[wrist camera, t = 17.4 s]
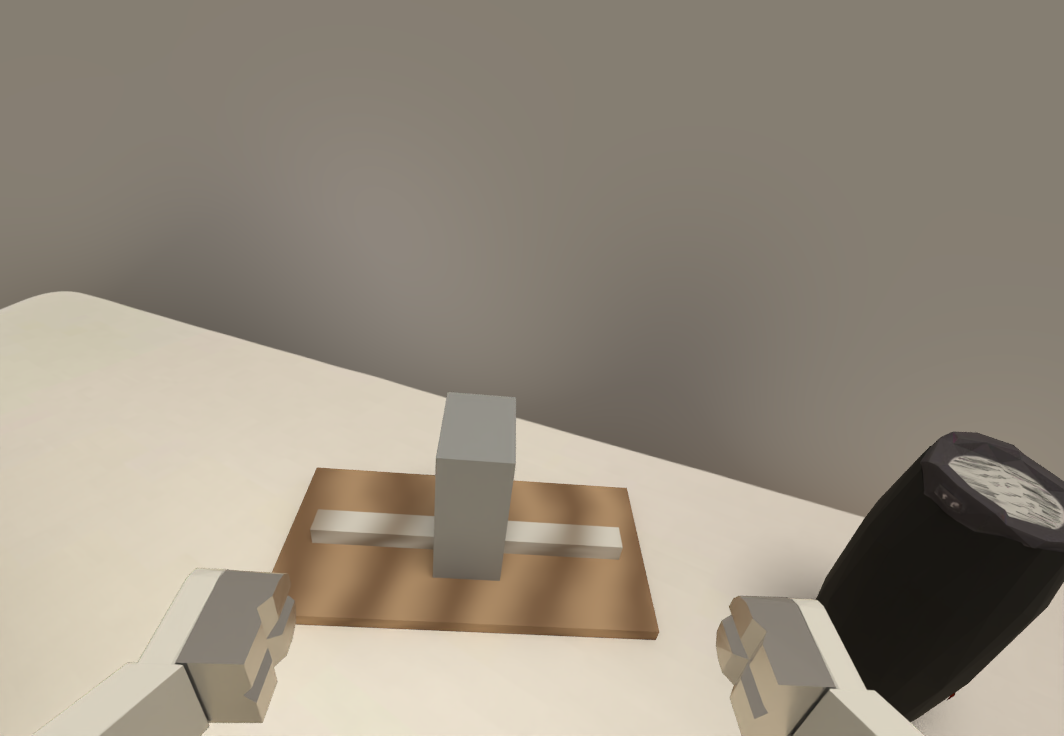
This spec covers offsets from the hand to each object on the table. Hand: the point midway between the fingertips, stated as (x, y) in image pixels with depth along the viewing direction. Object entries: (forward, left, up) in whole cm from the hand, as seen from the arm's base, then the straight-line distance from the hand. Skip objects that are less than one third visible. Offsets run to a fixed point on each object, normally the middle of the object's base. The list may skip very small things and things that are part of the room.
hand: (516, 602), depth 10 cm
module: (-1, +23, -27) cm, 36 cm away
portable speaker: (+27, +14, -28) cm, 41 cm away
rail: (-1, +23, -28) cm, 36 cm away
